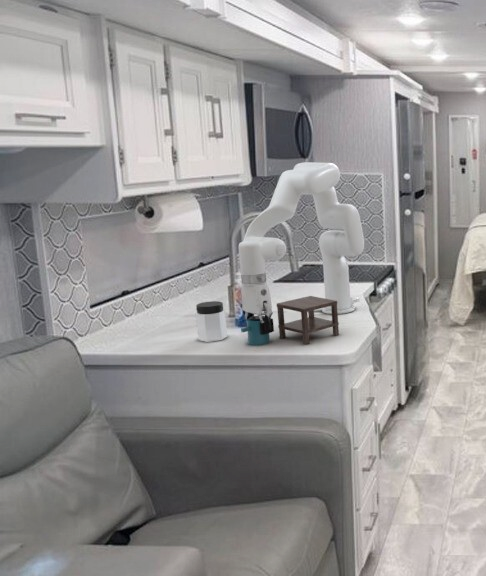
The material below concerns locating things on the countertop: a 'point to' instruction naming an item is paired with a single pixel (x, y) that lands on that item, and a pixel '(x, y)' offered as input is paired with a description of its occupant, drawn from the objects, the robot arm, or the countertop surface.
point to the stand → (307, 323)
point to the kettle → (257, 331)
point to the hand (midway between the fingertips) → (258, 331)
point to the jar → (211, 321)
